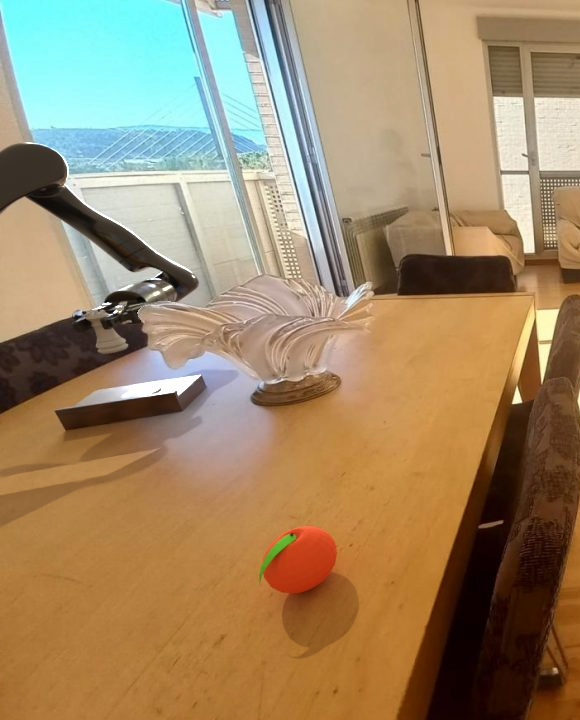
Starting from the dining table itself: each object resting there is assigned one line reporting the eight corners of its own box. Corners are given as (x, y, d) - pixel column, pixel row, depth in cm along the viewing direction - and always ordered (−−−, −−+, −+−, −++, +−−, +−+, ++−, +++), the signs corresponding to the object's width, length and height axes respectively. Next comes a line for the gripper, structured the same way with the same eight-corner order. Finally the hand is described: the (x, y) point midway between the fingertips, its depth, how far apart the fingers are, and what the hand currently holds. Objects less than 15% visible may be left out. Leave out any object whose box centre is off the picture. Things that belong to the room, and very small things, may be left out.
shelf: (65, 430, 89) (53, 410, 87) (103, 402, 99) (93, 384, 97) (182, 411, 94) (174, 392, 93) (206, 386, 105) (199, 369, 103)
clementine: (299, 623, 49) (277, 572, 46) (248, 609, 51) (225, 559, 48) (357, 564, 56) (341, 517, 53) (311, 553, 58) (294, 507, 55)
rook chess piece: (92, 353, 93) (72, 314, 90) (119, 345, 97) (100, 307, 93) (109, 355, 92) (89, 315, 89) (135, 346, 96) (117, 308, 92)
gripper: (88, 289, 100) (31, 312, 86) (170, 282, 105) (129, 302, 90) (105, 323, 103) (52, 350, 88) (184, 314, 108) (146, 338, 93)
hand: (91, 325), depth 89 cm, fingers closed on rook chess piece, 3 cm apart
